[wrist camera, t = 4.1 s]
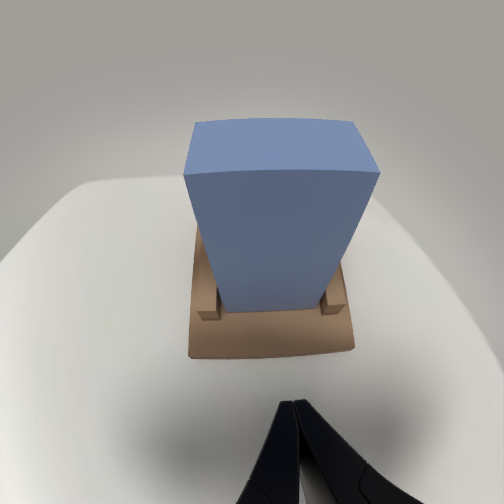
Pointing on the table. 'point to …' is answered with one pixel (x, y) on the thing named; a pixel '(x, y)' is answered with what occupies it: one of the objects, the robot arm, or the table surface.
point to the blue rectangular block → (277, 205)
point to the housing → (264, 322)
